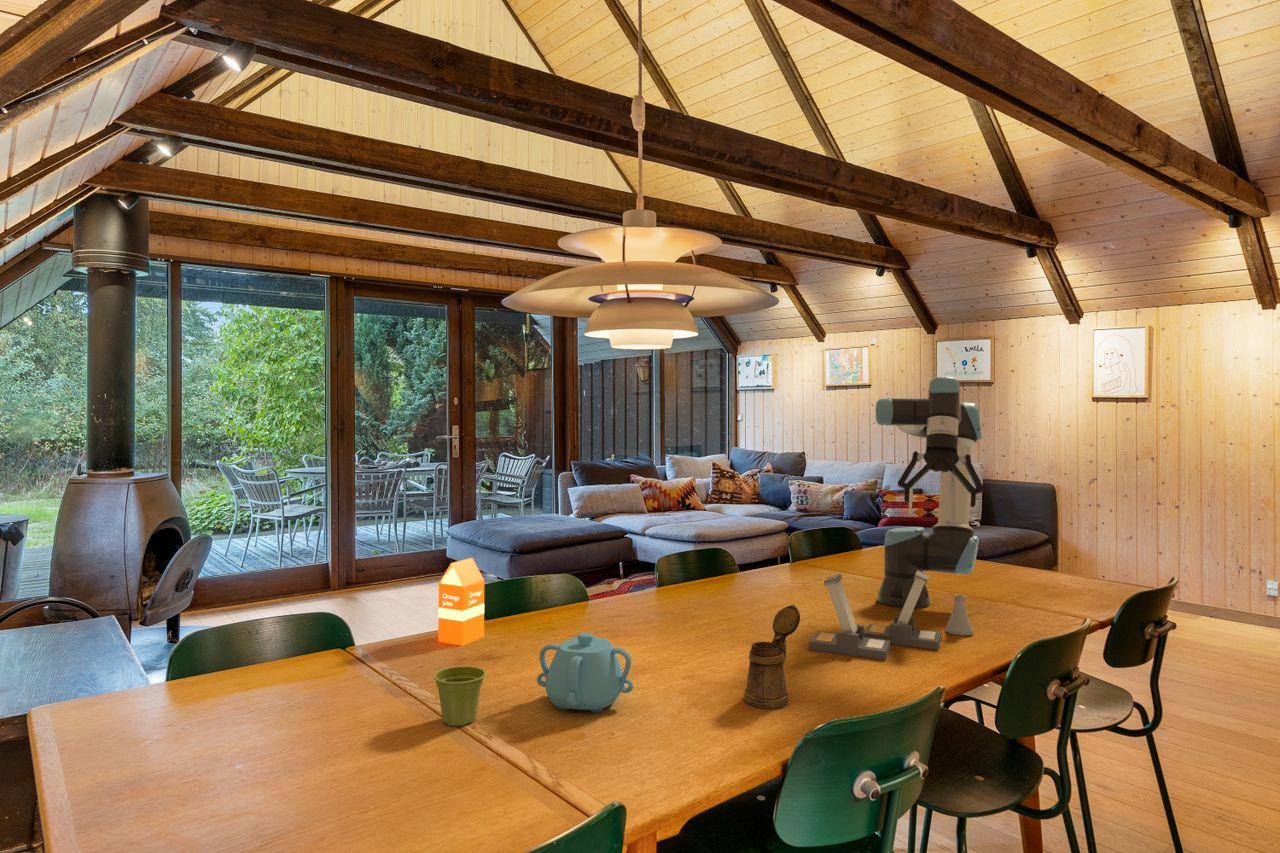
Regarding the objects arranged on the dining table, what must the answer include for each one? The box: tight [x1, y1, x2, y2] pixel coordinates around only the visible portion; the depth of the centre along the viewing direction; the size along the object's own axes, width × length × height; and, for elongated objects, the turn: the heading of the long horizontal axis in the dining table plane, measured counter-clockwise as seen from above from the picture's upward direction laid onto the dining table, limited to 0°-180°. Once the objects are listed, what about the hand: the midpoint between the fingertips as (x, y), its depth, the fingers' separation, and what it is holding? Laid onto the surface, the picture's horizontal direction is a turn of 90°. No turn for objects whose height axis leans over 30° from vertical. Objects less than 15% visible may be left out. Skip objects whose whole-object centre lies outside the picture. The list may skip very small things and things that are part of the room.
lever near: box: [823, 573, 857, 633], centre depth 189 cm, size 3×6×15 cm, turn 155°
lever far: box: [897, 570, 930, 625], centre depth 196 cm, size 3×6×15 cm, turn 155°
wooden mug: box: [743, 604, 801, 710], centre depth 155 cm, size 9×14×18 cm, turn 132°
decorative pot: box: [536, 632, 634, 713], centre depth 151 cm, size 16×16×14 cm
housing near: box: [809, 623, 892, 661], centre depth 189 cm, size 18×10×5 cm, turn 65°
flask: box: [944, 593, 974, 636], centre depth 204 cm, size 7×7×10 cm
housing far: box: [864, 614, 942, 651], centre depth 197 cm, size 18×10×5 cm, turn 65°
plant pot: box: [433, 665, 487, 727], centre depth 142 cm, size 9×9×9 cm
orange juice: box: [437, 557, 485, 647], centre depth 193 cm, size 8×9×20 cm
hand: (938, 517), depth 191 cm, fingers open, 13 cm apart
